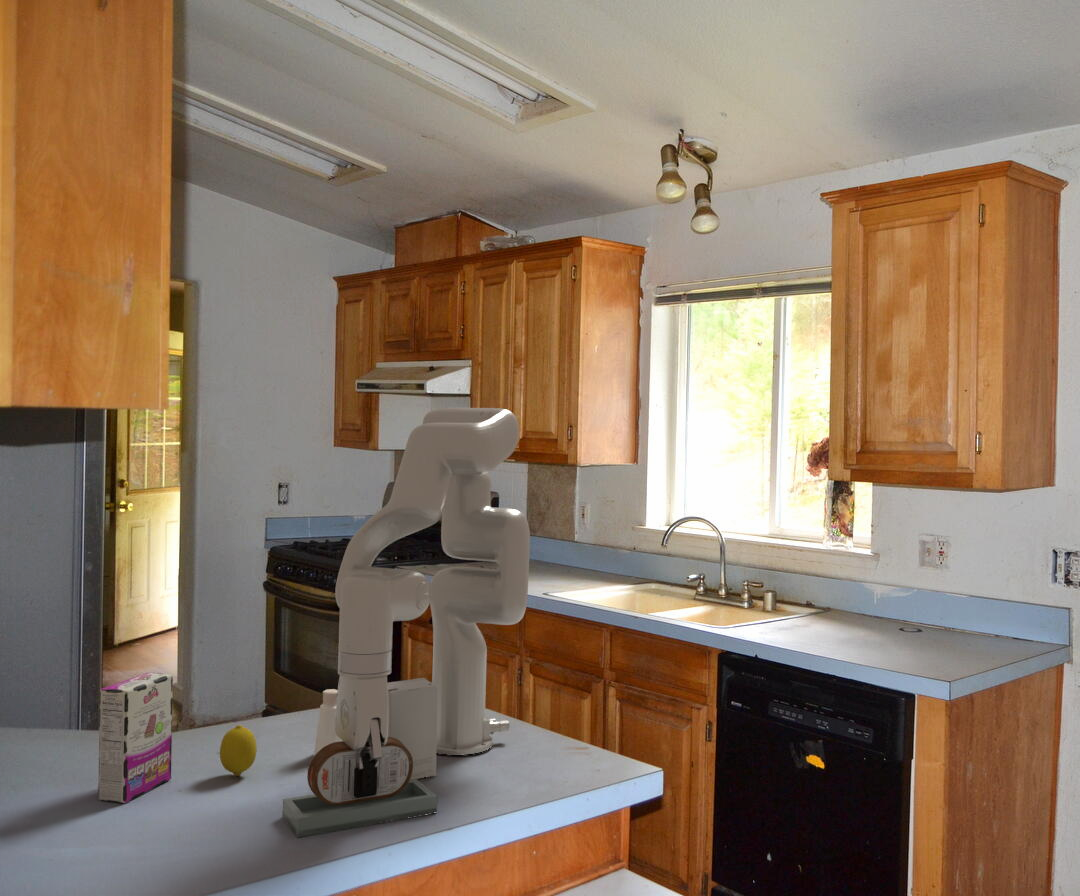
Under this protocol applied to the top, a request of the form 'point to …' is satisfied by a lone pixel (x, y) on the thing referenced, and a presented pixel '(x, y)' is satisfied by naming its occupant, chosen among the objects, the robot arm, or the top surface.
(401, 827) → the top surface
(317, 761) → the tin
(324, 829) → the tray
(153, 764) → the candy bar box
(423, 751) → the skincare box
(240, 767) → the lemon
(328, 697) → the pepper shaker
